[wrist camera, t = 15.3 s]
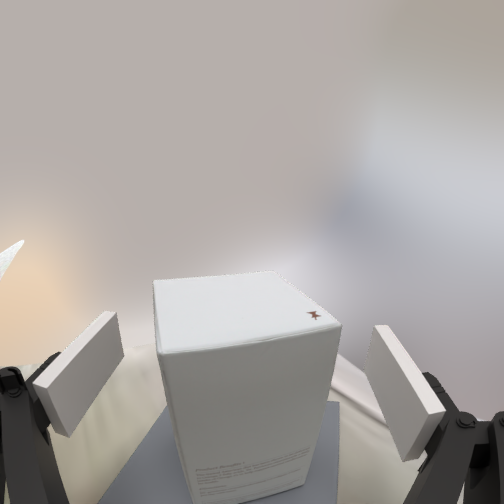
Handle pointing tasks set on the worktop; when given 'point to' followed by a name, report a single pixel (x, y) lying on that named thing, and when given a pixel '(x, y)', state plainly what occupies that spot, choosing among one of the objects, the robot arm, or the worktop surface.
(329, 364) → the supplement box
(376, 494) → the worktop surface
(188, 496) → the rubber mat
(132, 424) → the worktop surface
